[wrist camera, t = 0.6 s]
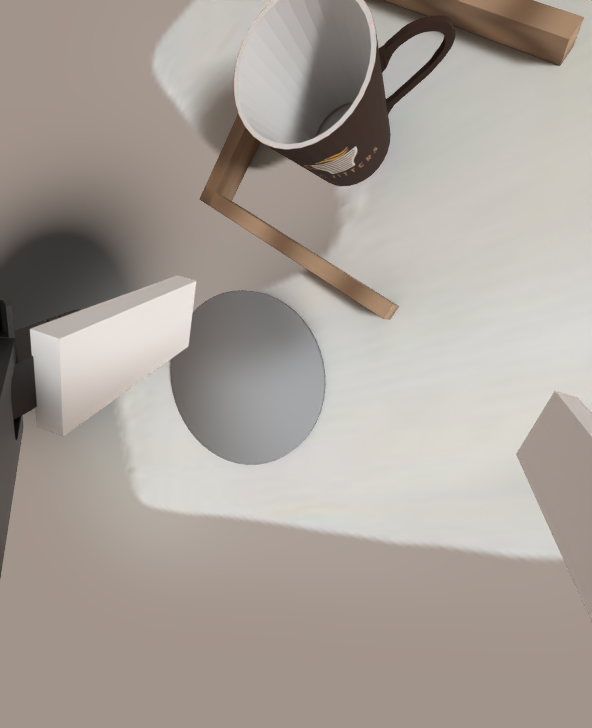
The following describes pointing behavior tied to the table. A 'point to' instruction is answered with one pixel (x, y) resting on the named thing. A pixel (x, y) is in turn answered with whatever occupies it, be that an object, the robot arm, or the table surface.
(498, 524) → the table surface
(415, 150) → the table surface
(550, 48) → the brown wooden open frame
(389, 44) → the coffee mug
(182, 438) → the table surface
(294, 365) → the mat
